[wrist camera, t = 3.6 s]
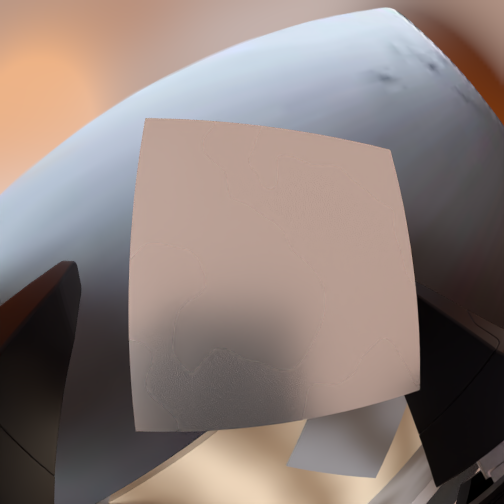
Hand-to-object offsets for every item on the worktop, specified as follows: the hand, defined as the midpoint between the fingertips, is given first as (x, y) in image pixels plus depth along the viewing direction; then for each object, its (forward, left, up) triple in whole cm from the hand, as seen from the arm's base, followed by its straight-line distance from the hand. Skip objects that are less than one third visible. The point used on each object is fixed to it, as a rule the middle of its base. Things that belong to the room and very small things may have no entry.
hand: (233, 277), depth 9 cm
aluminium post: (0, 0, -7) cm, 8 cm away
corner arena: (-3, -12, -7) cm, 14 cm away
